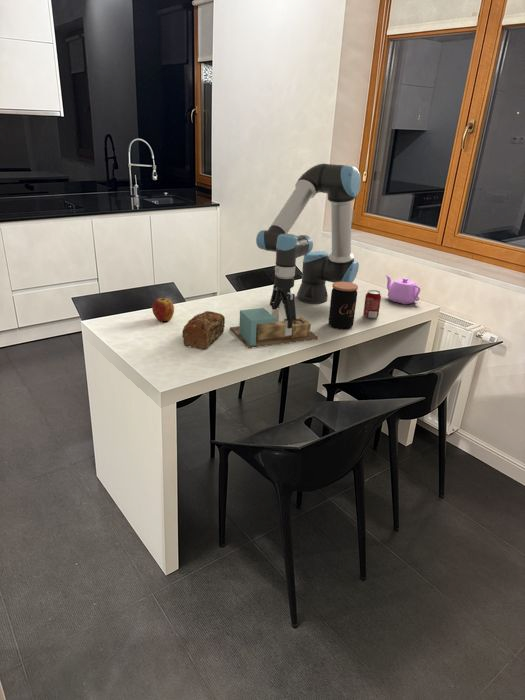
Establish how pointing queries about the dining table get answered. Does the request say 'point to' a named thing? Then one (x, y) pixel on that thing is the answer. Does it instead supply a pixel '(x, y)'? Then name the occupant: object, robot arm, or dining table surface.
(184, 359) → the dining table surface
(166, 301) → the apple
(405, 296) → the teapot
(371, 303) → the soda can
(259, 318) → the block
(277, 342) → the pintle board
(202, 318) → the bread
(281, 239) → the robot arm
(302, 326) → the wooden square socket bar
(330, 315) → the coffee jar
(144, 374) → the dining table surface
